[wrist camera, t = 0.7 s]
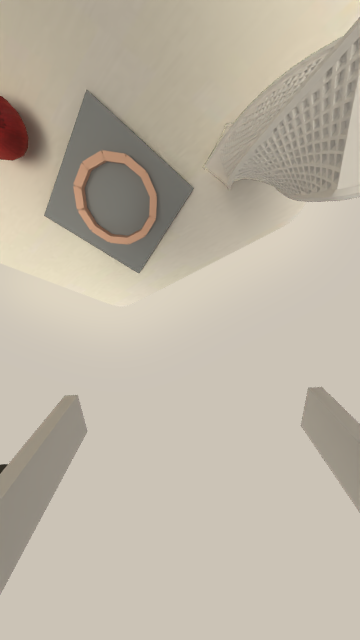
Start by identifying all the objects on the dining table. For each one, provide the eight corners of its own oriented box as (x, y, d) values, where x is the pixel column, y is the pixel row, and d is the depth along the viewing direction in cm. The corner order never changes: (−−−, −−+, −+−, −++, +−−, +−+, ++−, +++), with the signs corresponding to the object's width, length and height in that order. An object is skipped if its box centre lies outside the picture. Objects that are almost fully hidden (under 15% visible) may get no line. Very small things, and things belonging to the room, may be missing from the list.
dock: (47, 214, 30) (39, 217, 28) (89, 93, 24) (82, 84, 22) (139, 271, 37) (138, 276, 35) (192, 188, 30) (195, 188, 28)
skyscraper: (226, 104, 25) (836, -585, 3) (266, 144, 28) (739, -12, 5) (192, 170, 29) (319, 130, 6) (231, 200, 32) (419, 252, 9)
